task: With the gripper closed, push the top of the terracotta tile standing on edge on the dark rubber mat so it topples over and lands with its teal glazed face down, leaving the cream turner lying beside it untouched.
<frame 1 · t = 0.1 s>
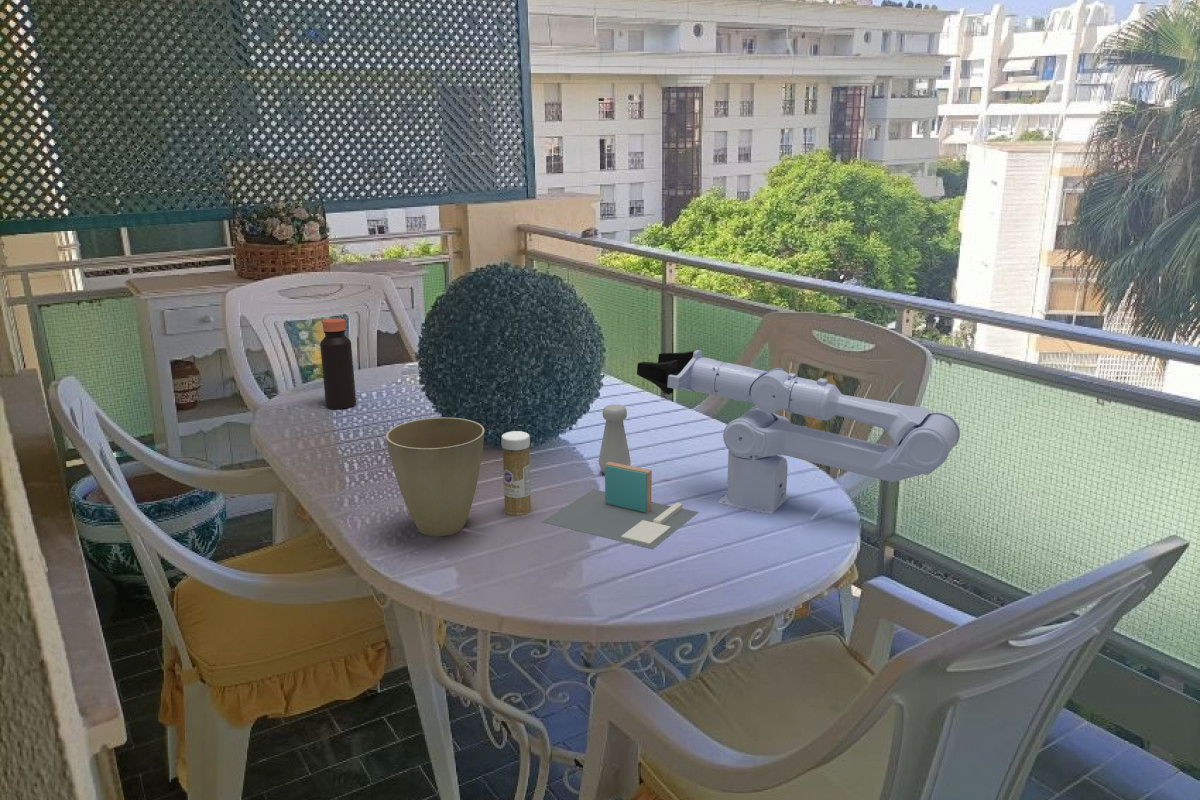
hand: (648, 363, 157), 22 cm above the table, tool horizontal, fingers open, 7 cm apart
tile: (627, 507, 150), resting on mat
turner: (656, 525, 143), resting on mat
sprinkles bottle: (518, 513, 150), on the table
plant pot: (441, 528, 144), on the table
mat: (620, 519, 147), on the table
salt shaker: (614, 475, 166), on the table
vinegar: (341, 406, 210), on the table
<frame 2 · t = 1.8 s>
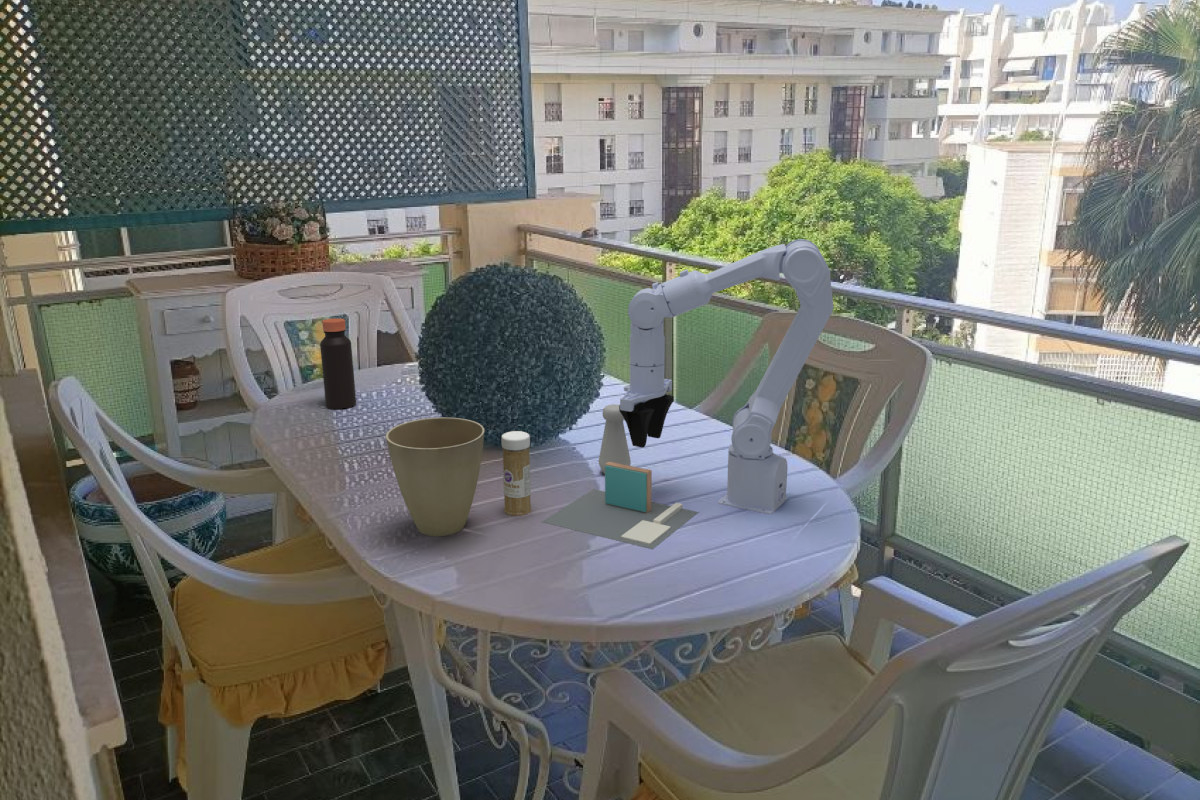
hand: (646, 441, 153), 10 cm above the table, tool pointing down, fingers open, 5 cm apart
nothing on the table moved.
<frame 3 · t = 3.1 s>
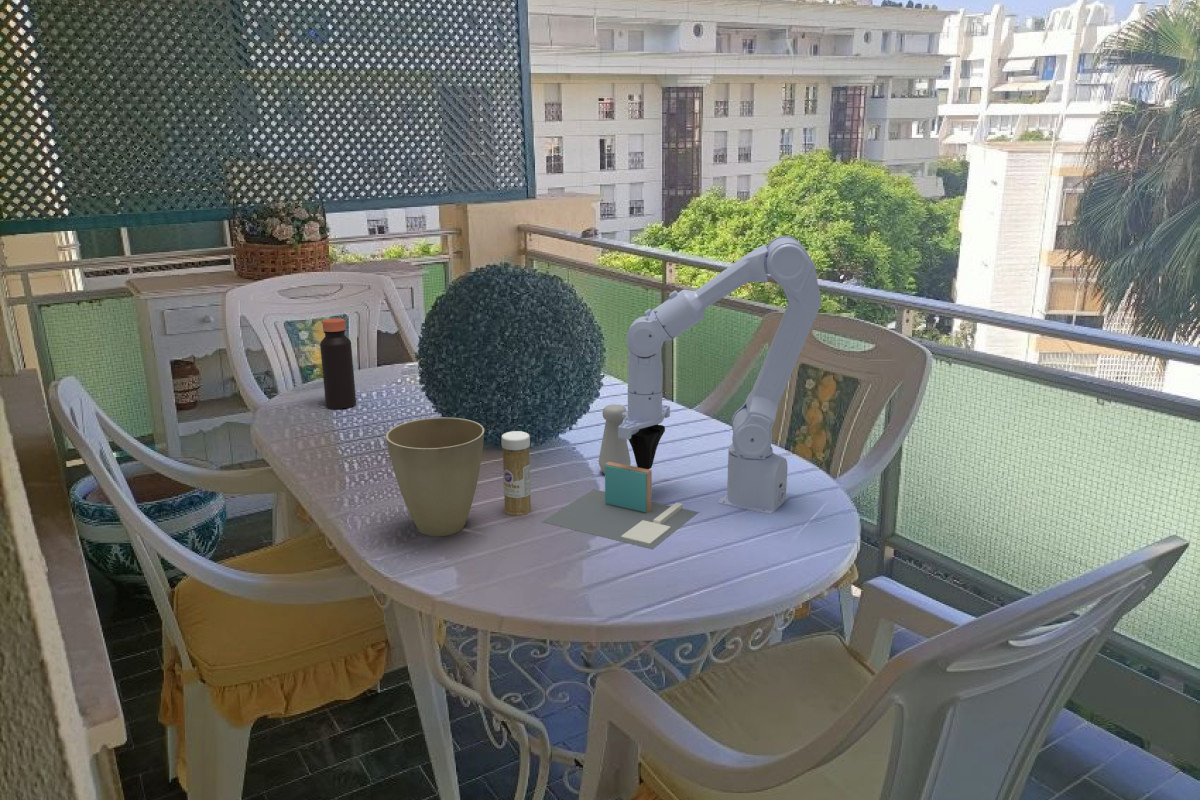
hand: (644, 467, 154), 5 cm above the table, tool pointing down, fingers closed
nothing on the table moved.
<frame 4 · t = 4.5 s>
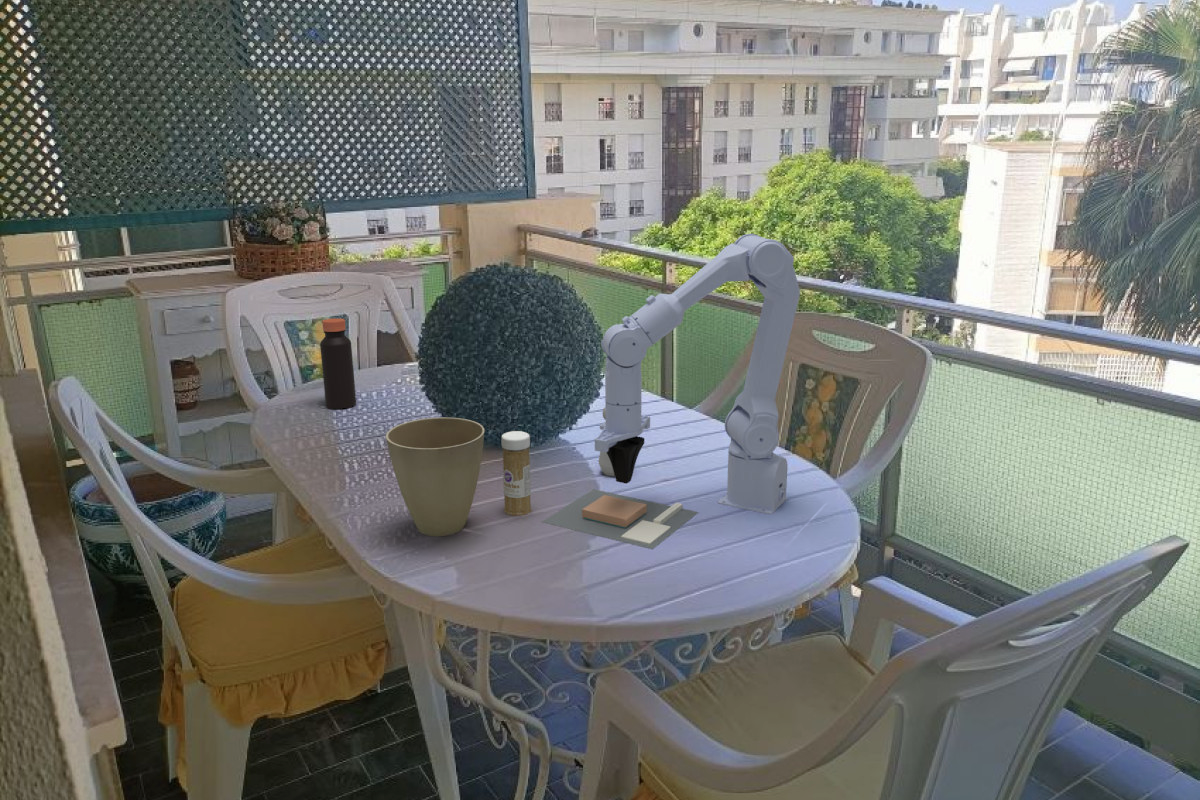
hand: (623, 481, 148), 5 cm above the table, tool pointing down, fingers closed
tile: (625, 504, 150), point 1 cm above the table, tilted 90°, touching mat
everything else where it was.
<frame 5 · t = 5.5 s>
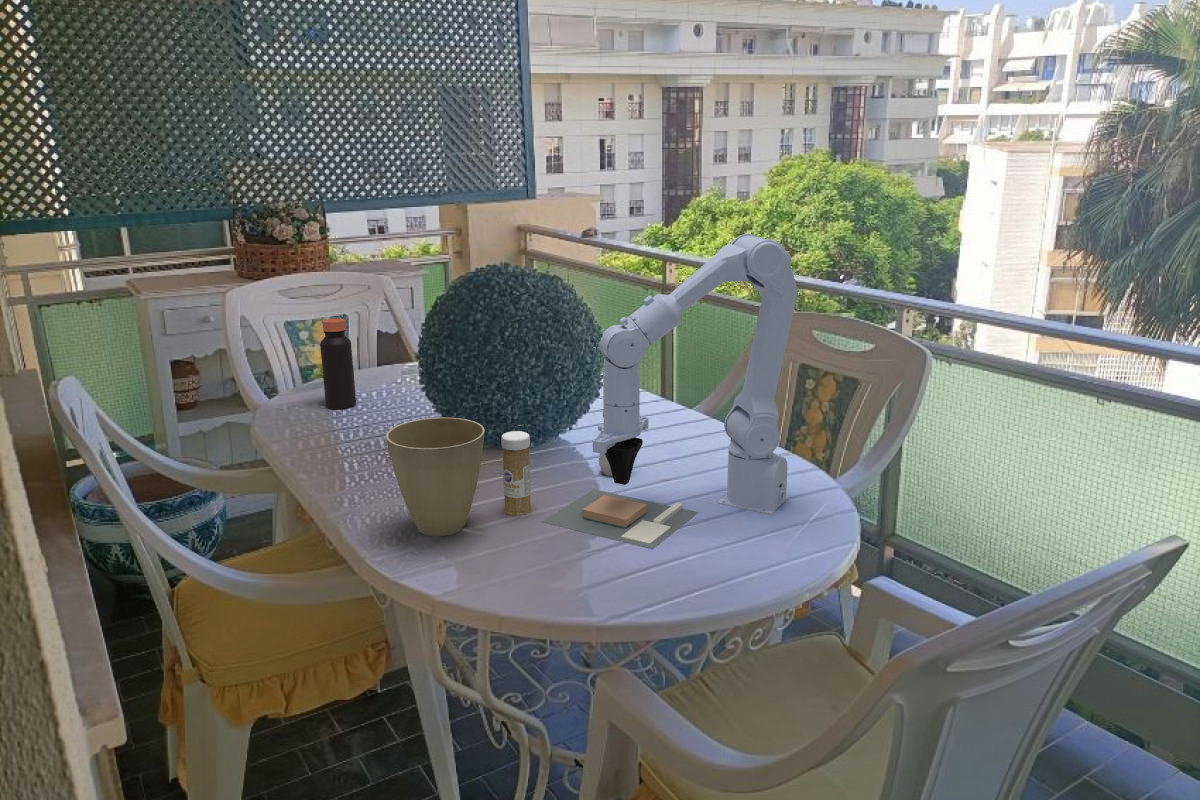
hand: (621, 482, 147), 5 cm above the table, tool pointing down, fingers closed
nothing on the table moved.
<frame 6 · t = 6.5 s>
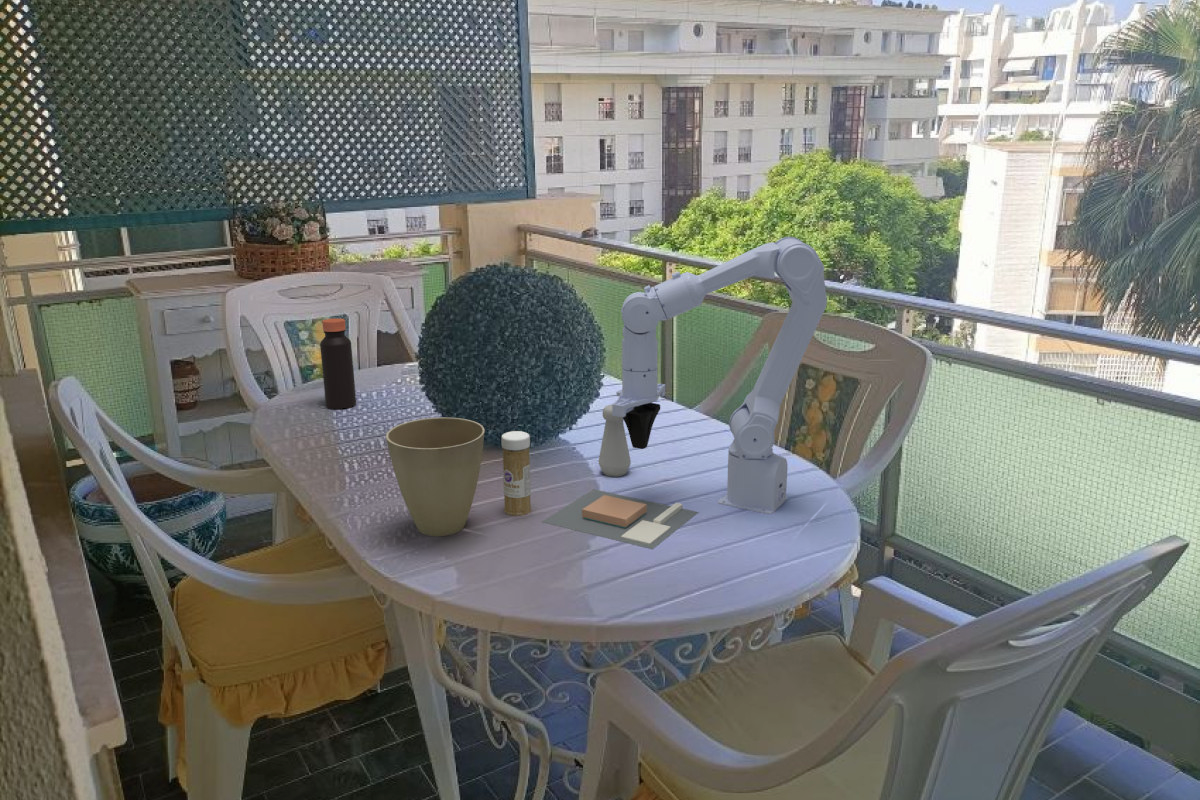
hand: (639, 447, 151), 10 cm above the table, tool pointing down, fingers closed
nothing on the table moved.
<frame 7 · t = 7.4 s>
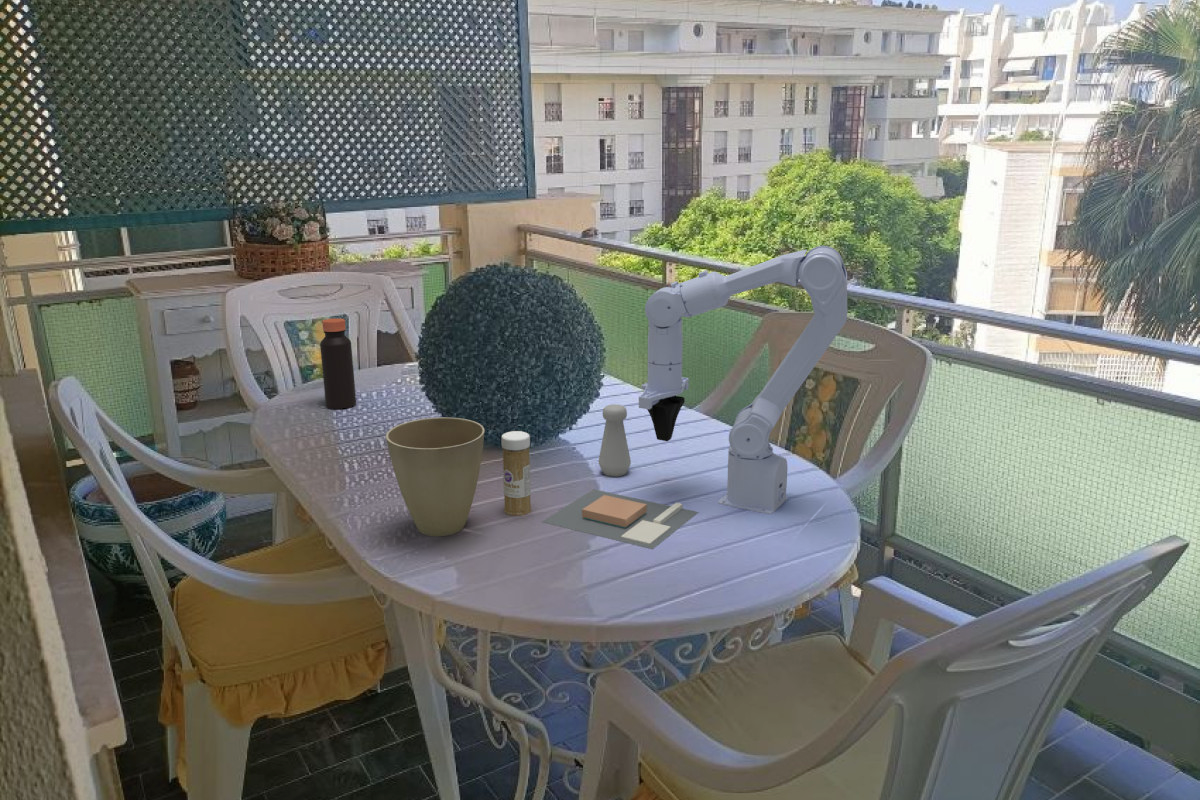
hand: (664, 439, 154), 10 cm above the table, tool pointing down, fingers closed
nothing on the table moved.
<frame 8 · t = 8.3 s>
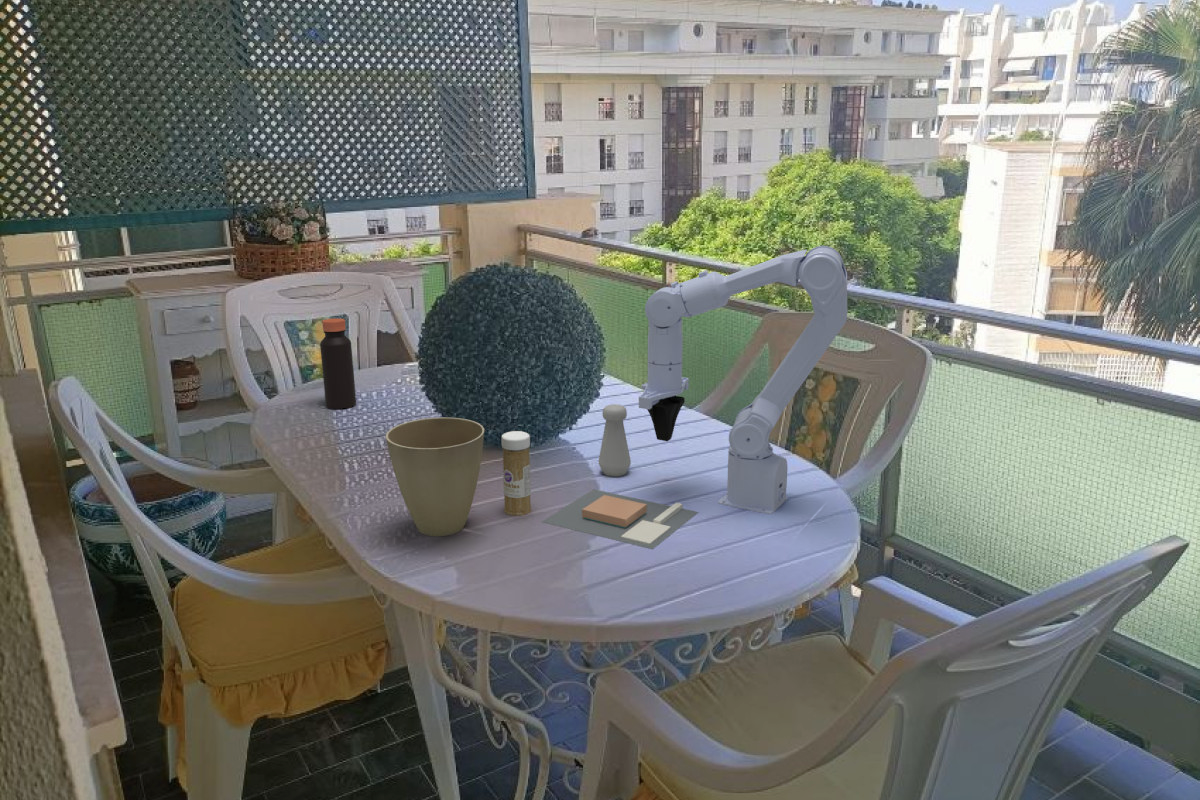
hand: (664, 439, 154), 10 cm above the table, tool pointing down, fingers closed
nothing on the table moved.
at the end: tile tilted 90°; tile inside the target area on the mat (2.4 cm from its centre), point 1.2 cm above the mat's base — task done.
